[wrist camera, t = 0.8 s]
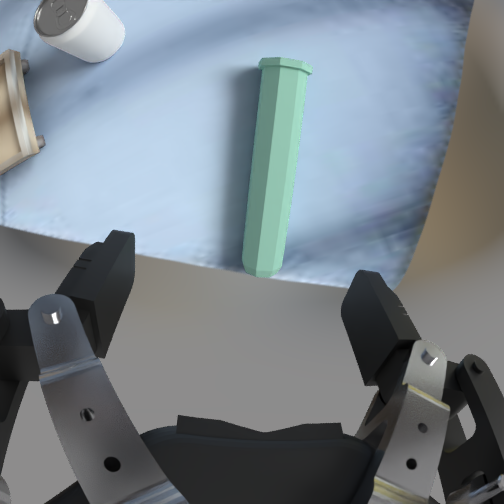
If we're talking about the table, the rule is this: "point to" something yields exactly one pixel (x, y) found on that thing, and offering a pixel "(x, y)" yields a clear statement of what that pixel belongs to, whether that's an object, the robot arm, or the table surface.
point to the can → (80, 28)
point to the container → (273, 163)
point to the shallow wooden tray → (15, 114)
